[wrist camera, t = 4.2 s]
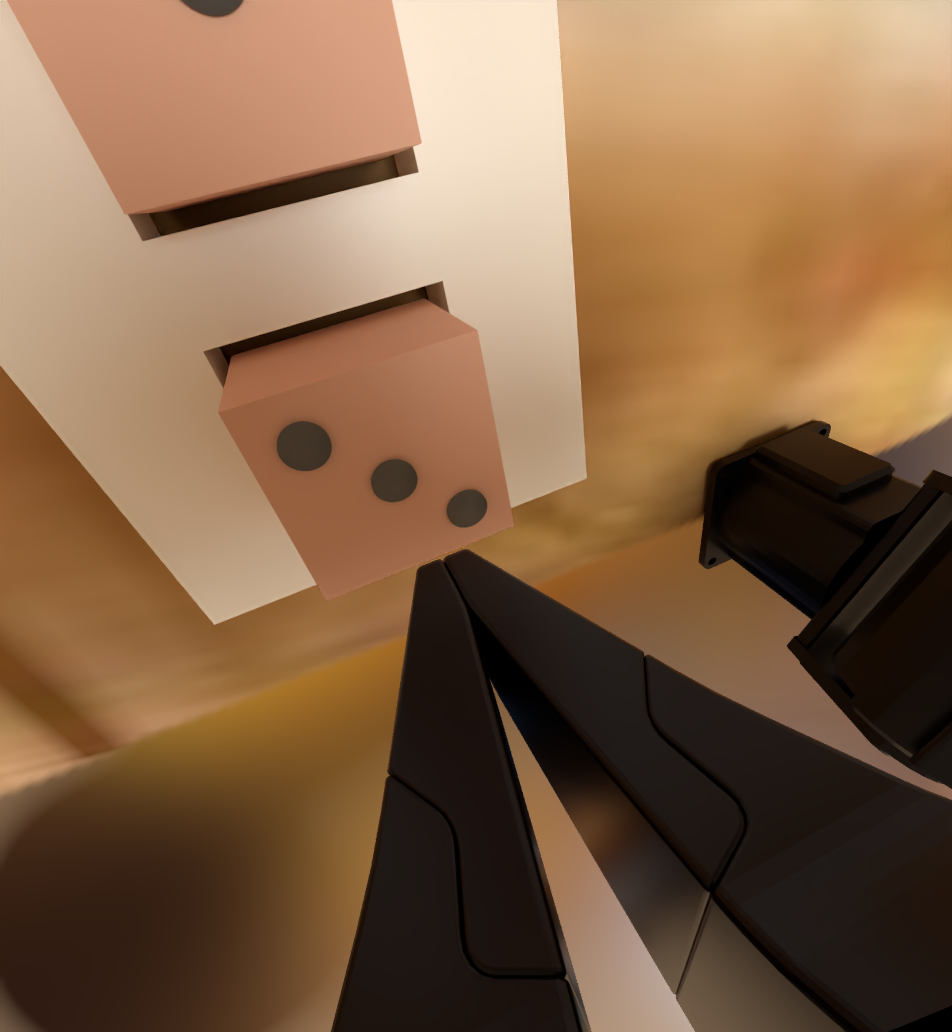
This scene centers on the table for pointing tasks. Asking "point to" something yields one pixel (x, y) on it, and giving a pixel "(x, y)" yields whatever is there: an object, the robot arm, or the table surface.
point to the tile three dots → (372, 442)
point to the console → (292, 288)
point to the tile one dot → (224, 90)
